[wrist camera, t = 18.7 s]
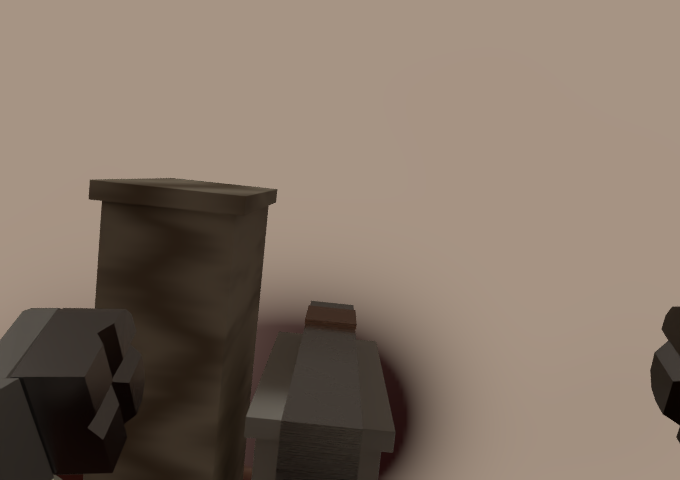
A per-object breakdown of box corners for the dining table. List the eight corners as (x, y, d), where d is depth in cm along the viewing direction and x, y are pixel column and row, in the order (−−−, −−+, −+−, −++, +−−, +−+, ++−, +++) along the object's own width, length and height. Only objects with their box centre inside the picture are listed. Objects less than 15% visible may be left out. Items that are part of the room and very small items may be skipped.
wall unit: (59, 649, 35) (90, 179, 32) (147, 500, 51) (172, 178, 48) (203, 663, 35) (245, 196, 32) (246, 510, 51) (277, 189, 48)
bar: (357, 494, 23) (365, 421, 23) (273, 485, 23) (280, 412, 23) (350, 339, 45) (354, 301, 45) (307, 335, 45) (311, 296, 45)
